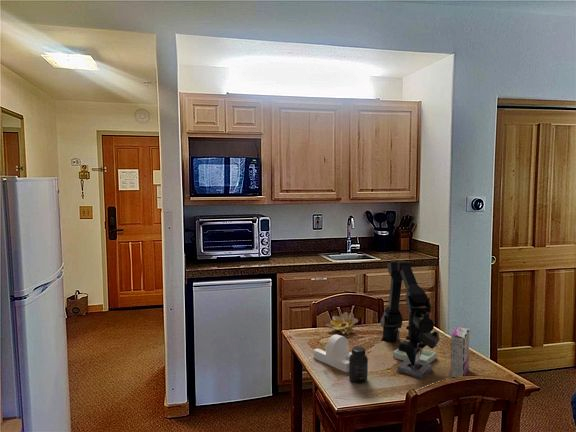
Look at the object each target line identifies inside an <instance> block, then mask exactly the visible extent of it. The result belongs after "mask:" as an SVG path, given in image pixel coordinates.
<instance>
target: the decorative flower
mask: <svg viewBox="0 0 576 432" xmlns="http://www.w3.org/2000/svg"><path fill="white" fill-rule="evenodd" d="M354 316H355V315H354V313H351V312H350V313H349V314H348V312H345V311H344V312H343V313H342V314H341V316H337V315H333V316H332V318H331V320H330V323H327V324H325V326H327V327H330V328H332V329H334V330H337V331H338V332H341V333H342V334H346V333H350V334H351V332H352V333H356V332H357V331H356V329H354V328H352V327H353V325H355V324H357V323H358V322H359V320H358V318H356V317H354Z"/></svg>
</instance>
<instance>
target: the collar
mask: <svg viewBox="0 0 576 432" xmlns="http://www.w3.org/2000/svg"><path fill="white" fill-rule="evenodd" d="M396 368H397V369H396V371H397V372H399V373H401V374H405V375H408V376H411V377H415V378H416V379H421V380H423V379H424V378H426V377H427V376H428V375H429V374H430V373H431V372H432V371H433V364H431V363H430V364H427V363H423V362H420V369H419V370H418V369H414V368H411V367H410V360H409V358H408V359H406V360H405V361H403V362H401V363H400V364H398V365H397V367H396Z"/></svg>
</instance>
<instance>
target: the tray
mask: <svg viewBox="0 0 576 432" xmlns="http://www.w3.org/2000/svg"><path fill="white" fill-rule="evenodd" d="M392 358H393V359H396V360H400V361H403V362H404V361H405V360H406V359H408V356H407V354H406V352H403V351H399V350H398V348H397V349H395V350H394V351H393V352H392ZM436 359H437V352H436V351H432V350H430V349H429V350H428V349H425V348H423V350H422V353H421V356H420V362H423V363H427V364H430V365H431V363H432V362H433V361H434V360H436Z"/></svg>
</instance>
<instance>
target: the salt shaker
mask: <svg viewBox="0 0 576 432" xmlns="http://www.w3.org/2000/svg"><path fill="white" fill-rule="evenodd" d="M418 349H419V350H420V351H419V352H417V354H416V360H415V365H411V362H410V367H411V368H414V369H418V370H419V369H420V352H421V351H422V347H421V346H419V345H418Z"/></svg>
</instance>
